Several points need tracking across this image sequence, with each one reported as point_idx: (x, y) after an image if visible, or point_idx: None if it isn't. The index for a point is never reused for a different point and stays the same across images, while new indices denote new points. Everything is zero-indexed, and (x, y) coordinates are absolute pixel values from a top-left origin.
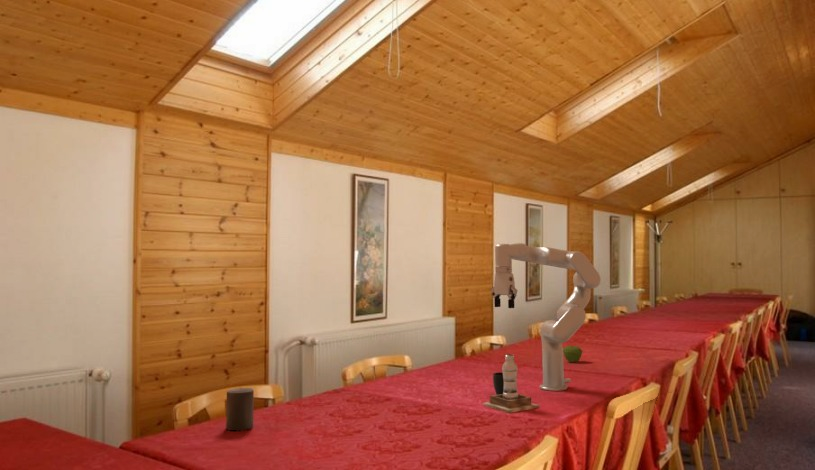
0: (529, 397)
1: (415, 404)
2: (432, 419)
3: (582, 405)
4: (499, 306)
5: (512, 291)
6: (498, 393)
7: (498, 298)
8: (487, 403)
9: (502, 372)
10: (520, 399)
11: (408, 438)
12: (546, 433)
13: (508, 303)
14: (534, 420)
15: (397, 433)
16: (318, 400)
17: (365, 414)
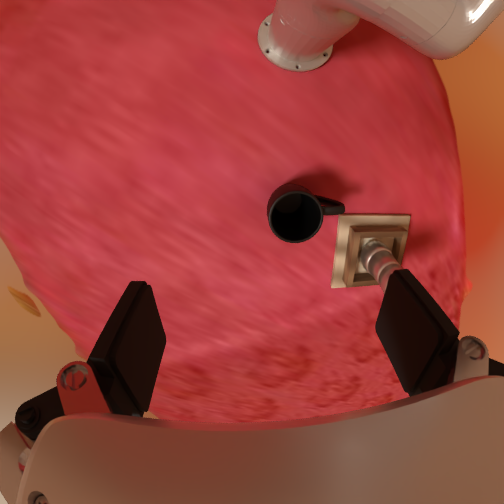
0: (406, 234)
1: (251, 359)
2: (338, 369)
3: (442, 137)
4: (152, 297)
5: (486, 439)
6: (292, 217)
7: (120, 384)
8: (340, 284)
9: (277, 201)
10: (402, 257)
11: (369, 396)
12: (464, 294)
13: (398, 363)
14: (437, 273)
15: (350, 400)
16: (167, 411)
17: (263, 406)
